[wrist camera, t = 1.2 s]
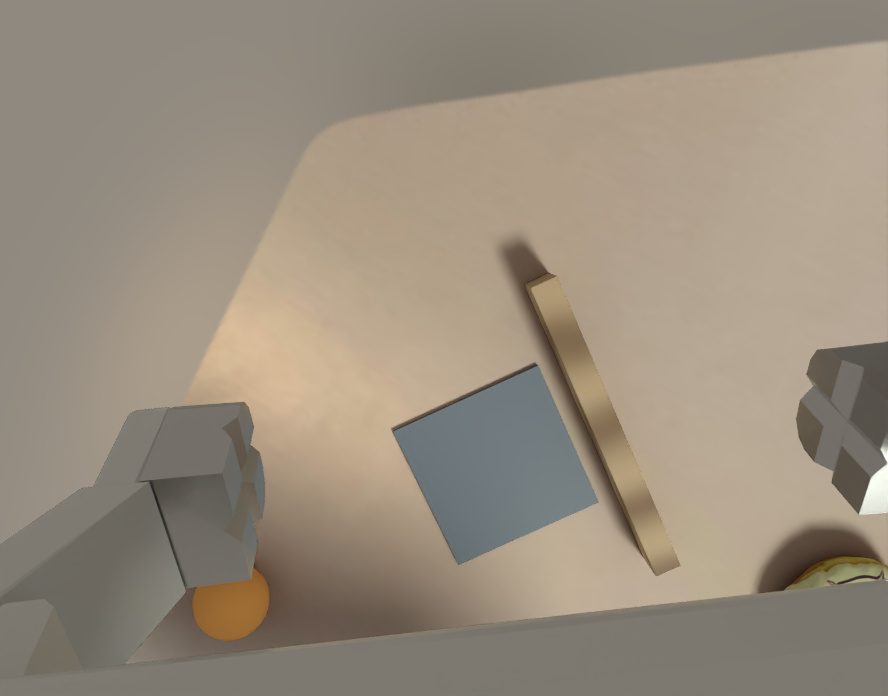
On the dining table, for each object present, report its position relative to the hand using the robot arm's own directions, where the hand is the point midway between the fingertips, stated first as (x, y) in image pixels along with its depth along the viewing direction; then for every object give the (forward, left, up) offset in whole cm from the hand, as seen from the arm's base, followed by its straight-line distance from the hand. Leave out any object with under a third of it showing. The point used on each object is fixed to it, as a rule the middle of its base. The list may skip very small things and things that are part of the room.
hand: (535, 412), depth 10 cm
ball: (-17, +25, -40) cm, 50 cm away
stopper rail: (-17, -6, -42) cm, 46 cm away
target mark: (-17, +3, -42) cm, 46 cm away
